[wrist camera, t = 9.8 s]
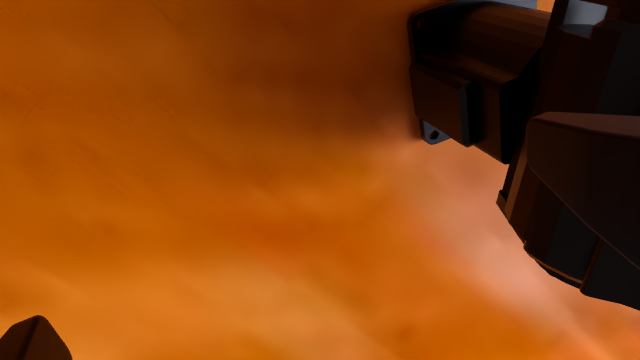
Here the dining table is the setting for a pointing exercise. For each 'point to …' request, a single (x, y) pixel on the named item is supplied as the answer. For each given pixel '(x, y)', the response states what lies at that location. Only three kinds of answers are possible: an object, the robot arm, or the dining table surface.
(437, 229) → the dining table surface
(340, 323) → the dining table surface
